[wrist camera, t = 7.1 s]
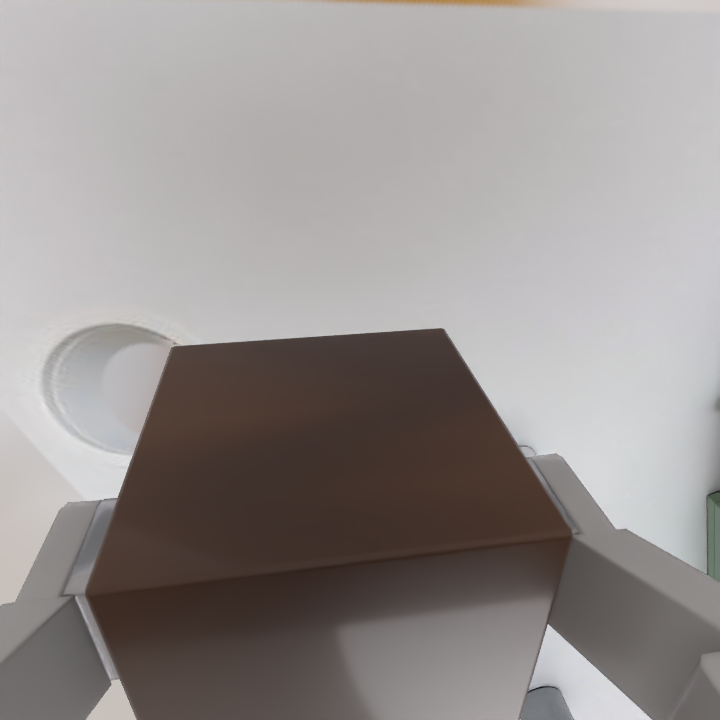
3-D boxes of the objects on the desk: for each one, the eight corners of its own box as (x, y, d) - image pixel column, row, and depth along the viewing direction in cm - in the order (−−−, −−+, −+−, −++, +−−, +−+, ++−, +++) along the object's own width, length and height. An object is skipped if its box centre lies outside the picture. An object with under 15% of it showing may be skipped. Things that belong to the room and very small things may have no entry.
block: (444, 325, 9) (577, 533, 5) (427, 516, 11) (510, 759, 7) (170, 344, 8) (80, 593, 4) (211, 540, 10) (175, 819, 7)
